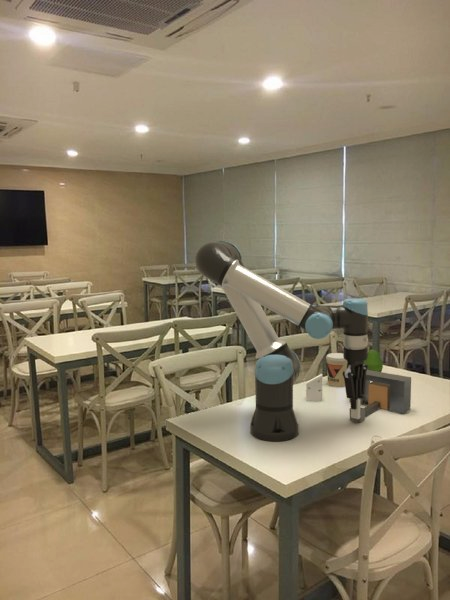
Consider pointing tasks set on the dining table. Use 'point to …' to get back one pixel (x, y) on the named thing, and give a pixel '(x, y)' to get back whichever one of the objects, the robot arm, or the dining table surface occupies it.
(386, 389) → the plug
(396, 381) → the housing
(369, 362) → the avocado
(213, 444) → the dining table surface
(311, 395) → the white angled block
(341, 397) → the dining table surface
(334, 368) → the coffee cup
